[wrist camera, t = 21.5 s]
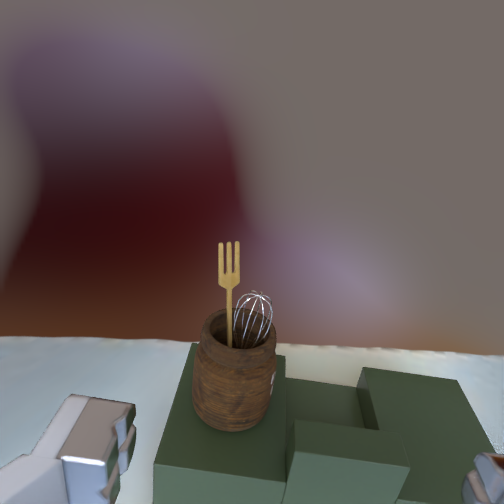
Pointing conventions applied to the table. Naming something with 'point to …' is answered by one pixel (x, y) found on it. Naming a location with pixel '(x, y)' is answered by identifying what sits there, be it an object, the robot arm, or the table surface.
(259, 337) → the utensil holder
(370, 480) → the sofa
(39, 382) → the table surface
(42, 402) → the table surface
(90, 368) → the table surface
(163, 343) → the table surface
